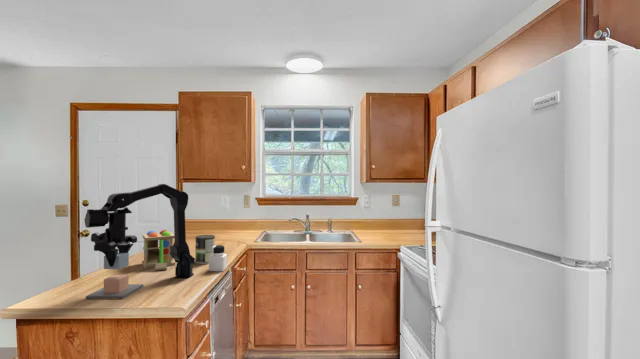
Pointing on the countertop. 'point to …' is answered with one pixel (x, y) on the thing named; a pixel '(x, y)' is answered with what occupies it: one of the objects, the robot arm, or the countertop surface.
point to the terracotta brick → (116, 283)
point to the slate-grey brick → (118, 261)
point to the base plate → (122, 294)
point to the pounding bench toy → (158, 250)
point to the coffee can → (204, 248)
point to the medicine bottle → (218, 259)
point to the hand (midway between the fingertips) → (116, 264)
